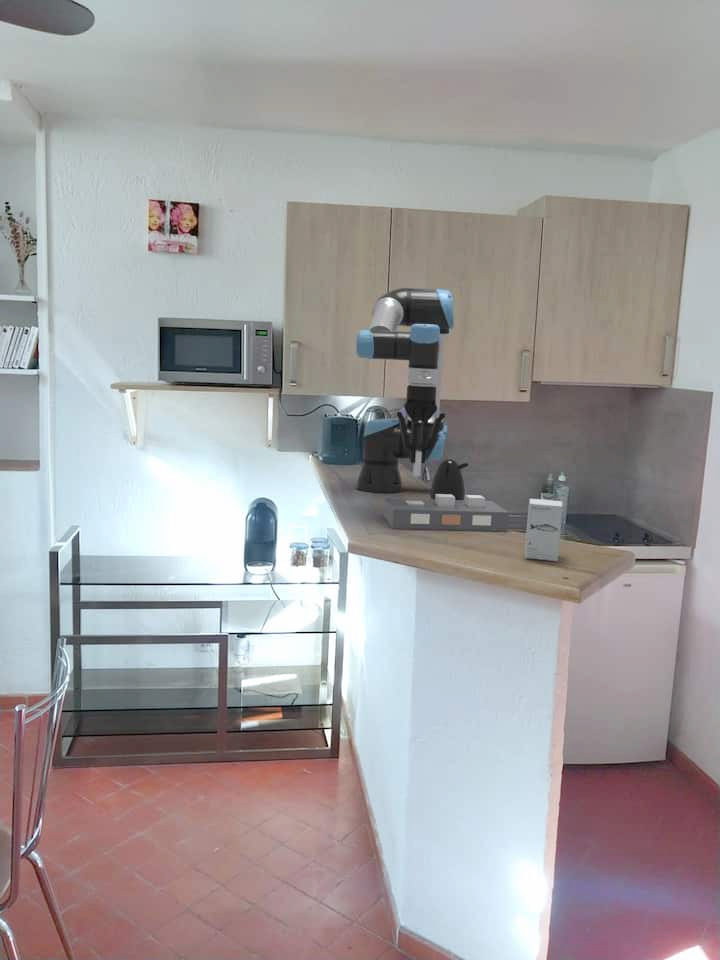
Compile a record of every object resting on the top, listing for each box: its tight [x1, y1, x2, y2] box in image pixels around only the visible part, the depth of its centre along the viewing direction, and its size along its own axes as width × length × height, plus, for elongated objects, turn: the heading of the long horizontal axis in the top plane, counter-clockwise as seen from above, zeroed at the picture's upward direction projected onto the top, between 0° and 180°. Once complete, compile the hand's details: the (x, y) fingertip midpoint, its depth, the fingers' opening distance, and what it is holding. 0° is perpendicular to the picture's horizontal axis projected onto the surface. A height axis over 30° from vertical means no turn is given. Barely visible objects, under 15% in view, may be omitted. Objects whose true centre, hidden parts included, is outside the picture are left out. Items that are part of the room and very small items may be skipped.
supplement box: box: [524, 498, 564, 563], centre depth 177 cm, size 7×7×13 cm
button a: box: [405, 501, 425, 506], centre depth 208 cm, size 4×4×4 cm
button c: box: [464, 494, 486, 508], centre depth 210 cm, size 4×4×4 cm
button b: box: [435, 494, 455, 507], centre depth 209 cm, size 4×4×4 cm
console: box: [382, 497, 510, 532], centre depth 209 cm, size 16×30×5 cm, turn 96°
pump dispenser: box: [429, 458, 469, 500], centre depth 227 cm, size 10×10×15 cm
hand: (416, 475), depth 207 cm, fingers closed
